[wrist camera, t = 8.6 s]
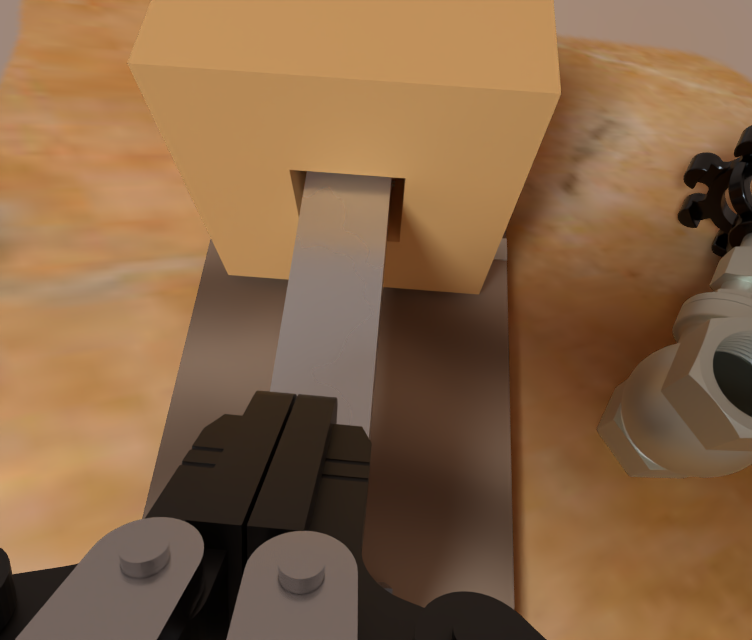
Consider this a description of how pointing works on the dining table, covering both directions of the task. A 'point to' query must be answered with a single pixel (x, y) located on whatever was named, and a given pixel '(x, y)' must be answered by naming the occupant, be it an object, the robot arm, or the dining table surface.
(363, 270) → the rectangular bar
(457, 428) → the board
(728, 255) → the valve
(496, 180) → the collar
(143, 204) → the dining table surface
